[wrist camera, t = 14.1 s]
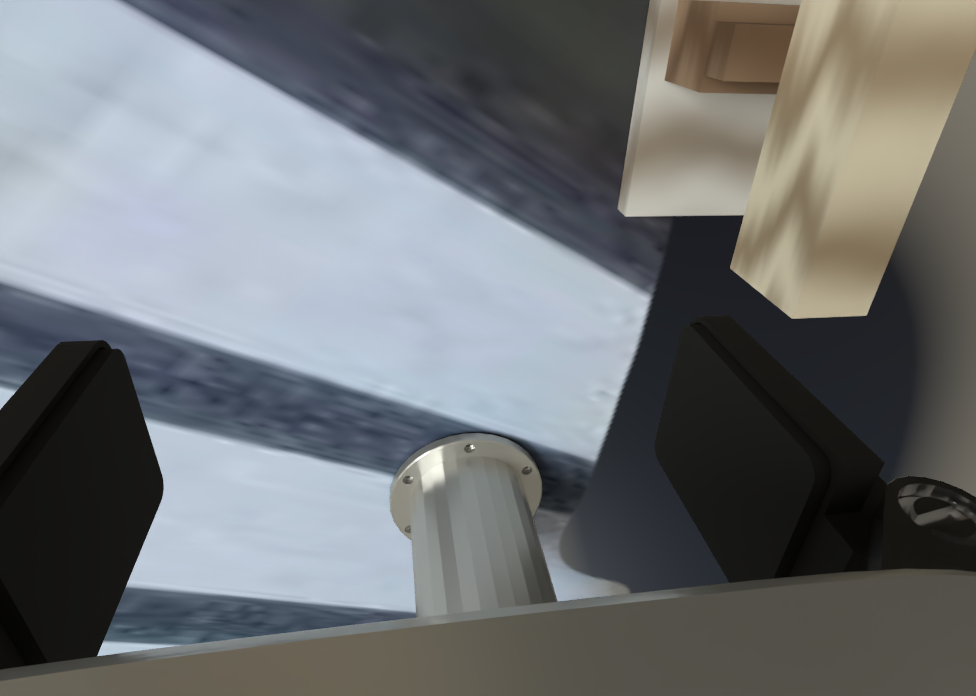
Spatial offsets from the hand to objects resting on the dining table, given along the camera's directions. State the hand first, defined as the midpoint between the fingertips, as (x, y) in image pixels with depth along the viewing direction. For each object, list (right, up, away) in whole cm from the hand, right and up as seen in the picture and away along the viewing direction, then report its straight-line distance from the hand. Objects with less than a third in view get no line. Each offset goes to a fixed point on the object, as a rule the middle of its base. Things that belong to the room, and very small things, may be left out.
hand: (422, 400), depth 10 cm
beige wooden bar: (+17, +15, +18) cm, 29 cm away
